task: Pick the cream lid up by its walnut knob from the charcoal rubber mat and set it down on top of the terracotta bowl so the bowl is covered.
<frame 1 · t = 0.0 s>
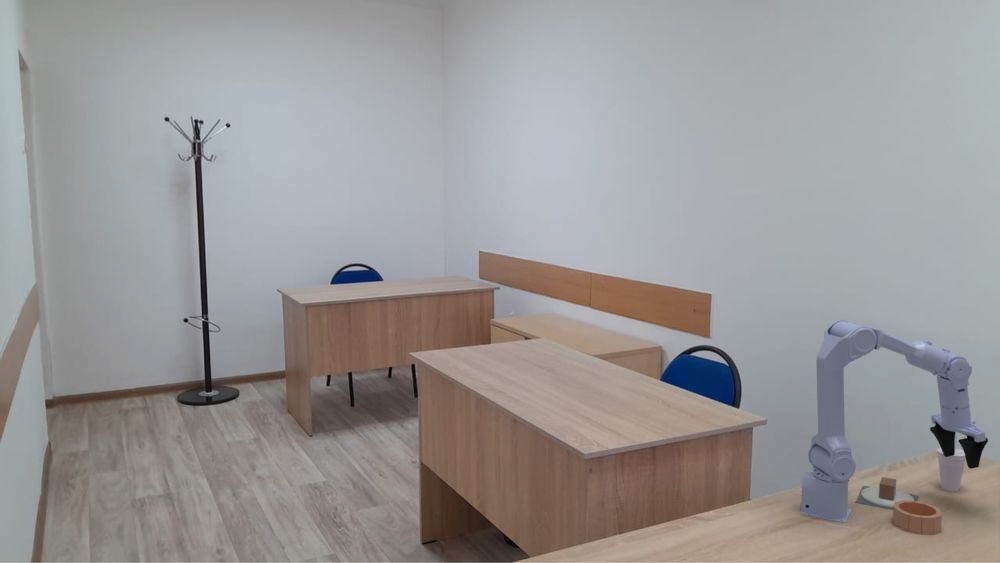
hand: (961, 461, 167), 11 cm above the table, tool pointing down, fingers open, 7 cm apart
mat: (887, 500, 172), on the table
bowl: (916, 526, 158), on the table
smoothie: (950, 490, 177), on the table
lid: (887, 499, 172), resting on mat
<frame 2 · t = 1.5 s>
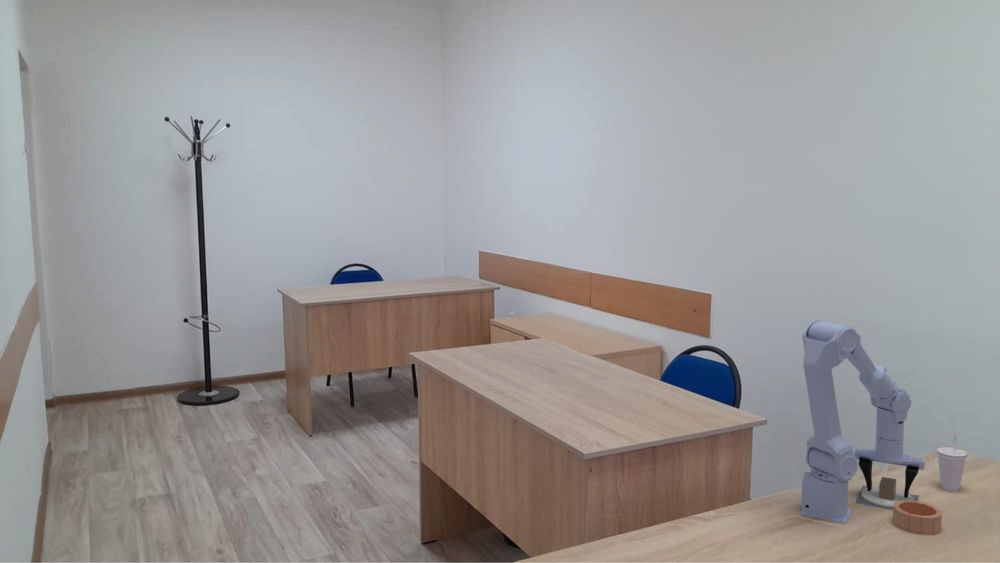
hand: (887, 492, 172), 2 cm above the table, tool pointing down, fingers open, 7 cm apart
nothing on the table moved.
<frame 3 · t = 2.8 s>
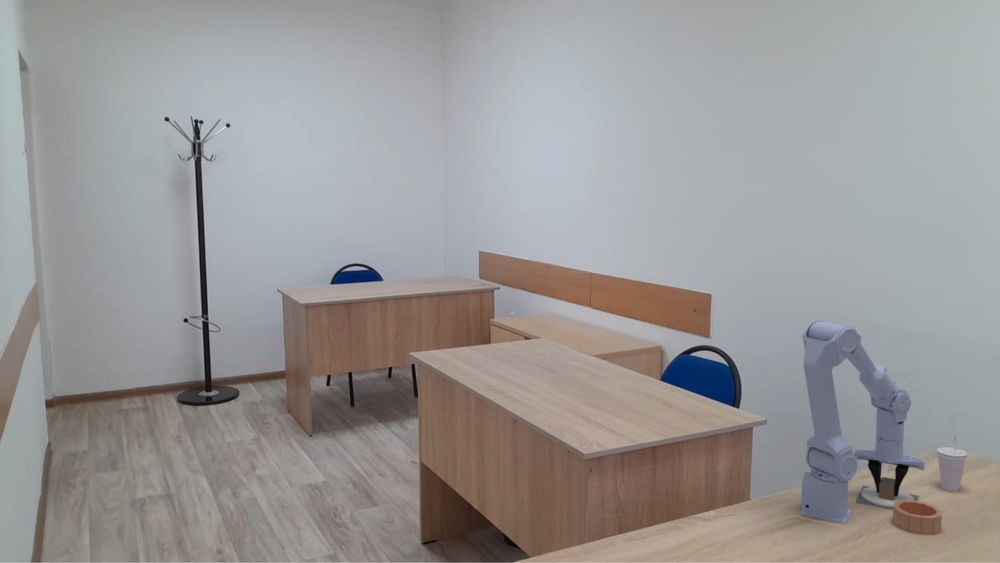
hand: (887, 493, 172), 2 cm above the table, tool pointing down, fingers closed on lid, 3 cm apart
lid: (887, 499, 172), resting on mat, touching gripper
everything else where it was.
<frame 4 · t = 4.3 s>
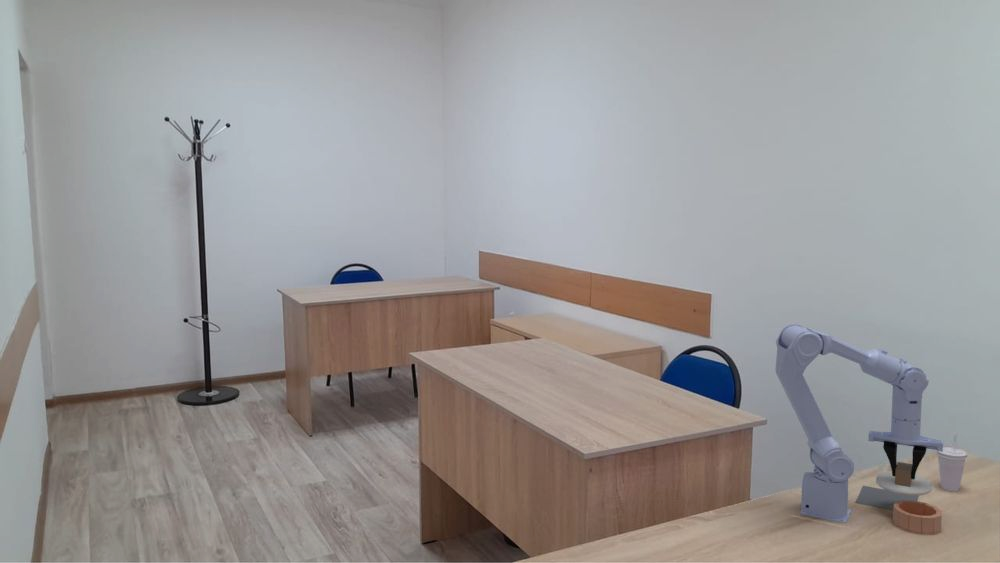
hand: (903, 476, 164), 9 cm above the table, tool pointing down, fingers closed on lid, 3 cm apart
lid: (903, 484, 164), point 7 cm above the table, touching gripper
everything else where it was.
when the fingers open (6 cm above the table, at t = 5.9 s): lid stays where it is, resting on bowl.
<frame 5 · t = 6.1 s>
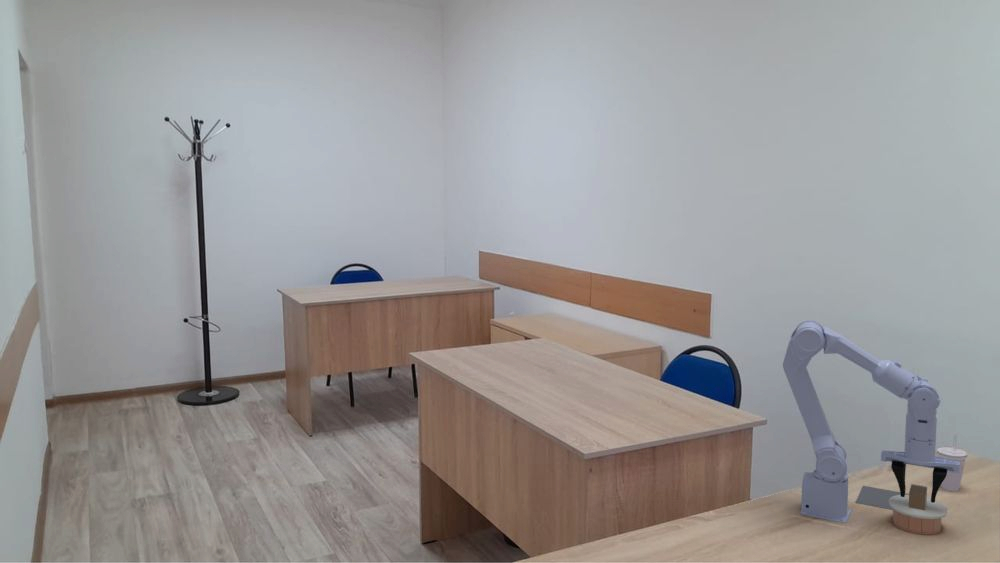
hand: (917, 498, 157), 6 cm above the table, tool pointing down, fingers open, 5 cm apart
lid: (917, 508, 158), point 4 cm above the table, touching bowl
everything else where it was.
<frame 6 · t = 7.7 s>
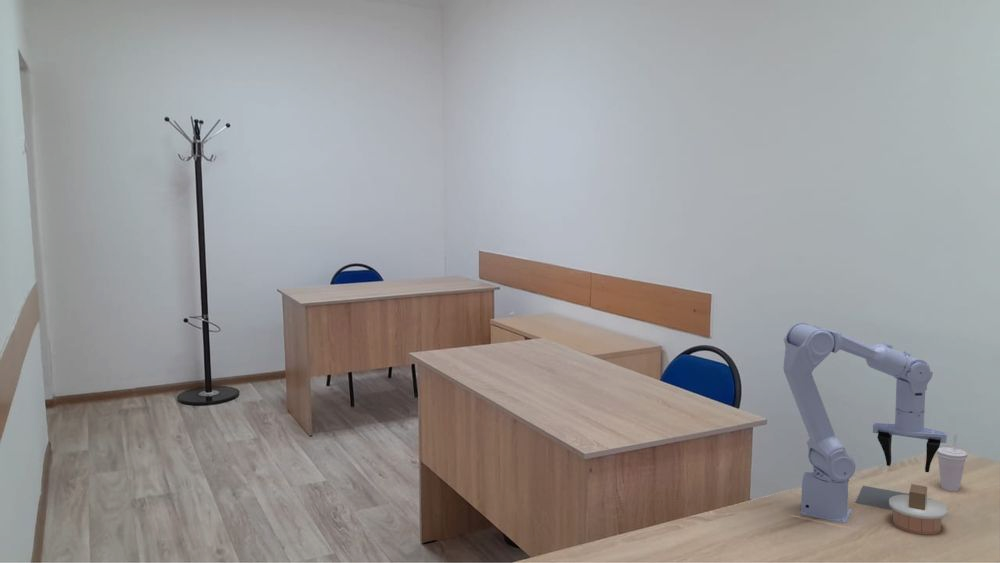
hand: (907, 467, 166), 10 cm above the table, tool pointing down, fingers open, 7 cm apart
nothing on the table moved.
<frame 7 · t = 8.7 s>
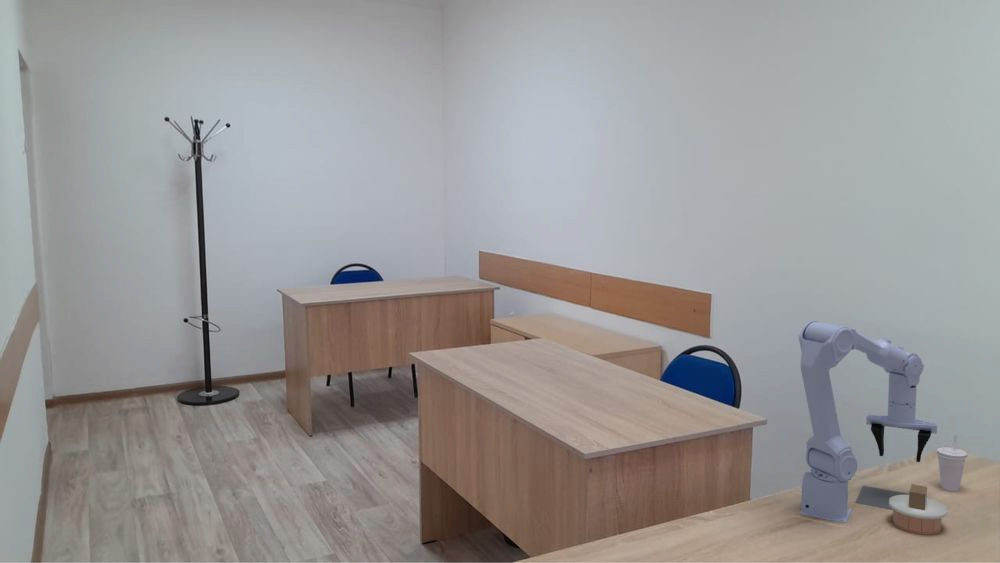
hand: (899, 457, 172), 10 cm above the table, tool pointing down, fingers open, 7 cm apart
nothing on the table moved.
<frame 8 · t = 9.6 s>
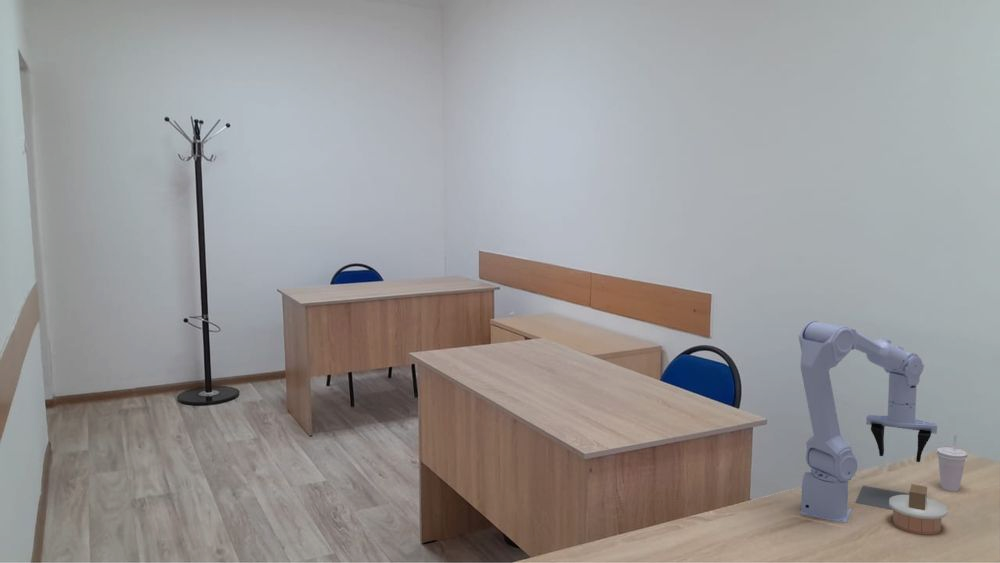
hand: (899, 457, 172), 10 cm above the table, tool pointing down, fingers open, 7 cm apart
nothing on the table moved.
at the end: lid 0.4 cm off-centre on the bowl, point 4.0 cm above the bowl's base; lid tilted 0°; the gripper is holding nothing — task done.
